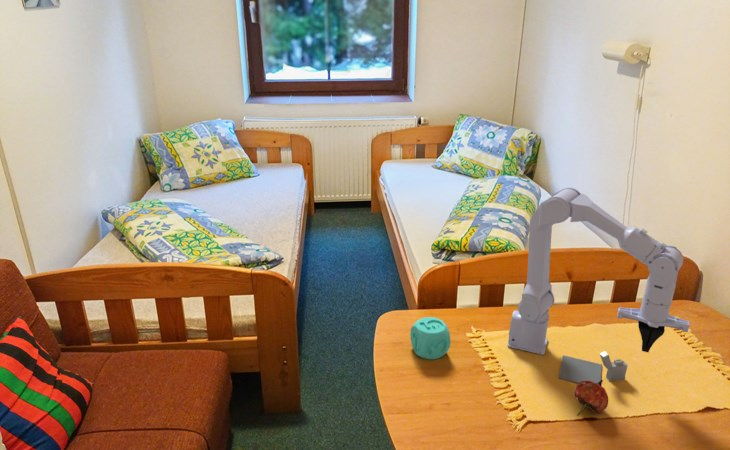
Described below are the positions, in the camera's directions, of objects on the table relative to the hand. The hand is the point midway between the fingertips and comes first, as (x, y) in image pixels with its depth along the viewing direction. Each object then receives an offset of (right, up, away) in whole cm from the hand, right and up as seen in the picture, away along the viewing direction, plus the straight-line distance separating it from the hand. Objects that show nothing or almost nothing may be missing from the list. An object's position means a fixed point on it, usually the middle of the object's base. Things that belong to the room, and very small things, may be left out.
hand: (645, 349), depth 130 cm
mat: (-12, -8, +9) cm, 16 cm away
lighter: (-6, -9, +6) cm, 12 cm away
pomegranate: (-15, -13, -4) cm, 20 cm away
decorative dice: (-49, -4, +17) cm, 52 cm away
